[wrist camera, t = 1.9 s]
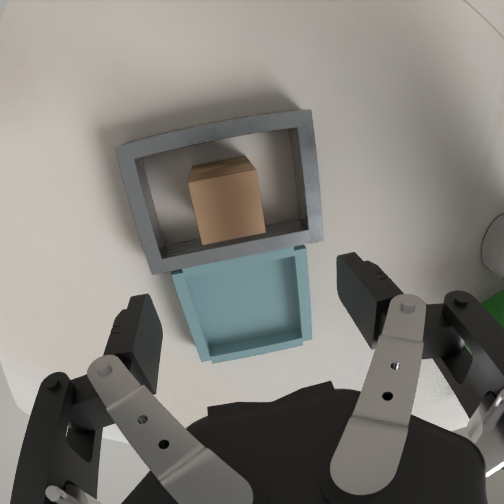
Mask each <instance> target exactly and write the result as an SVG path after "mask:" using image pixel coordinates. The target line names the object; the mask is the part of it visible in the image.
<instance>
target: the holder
mask: <svg viewBox="0 0 504 504" xmlns="http://www.w3.org/2000/svg"><path fill="white" fill-rule="evenodd" d="M287 128H290V136H291V143H292V151H293V159H294V167H295V175H296V184H297V192H298V201H299V211H300V219H298V220H292V221H287V222H282V223H276V224H271V225H266V226H265V230H266V233H261V234H256V235H251V236H246V237H241V238H235V239H230V240H225V241H220V242H216V243H211V244H206V245H202V241H201V239H196V240H191V241H186V242H181V243H177V244H172V245H167V246H165V243H164V240H163V236H162V233H161V229H160V225H159V222H158V218H157V215H156V211H155V207H154V203H153V200H152V196H151V192H150V188H149V184H148V180H147V176H146V172H145V168H144V164H143V159H142V157H144V156H147V155H151V154H155V153H159V152H163V151H168V150H172V149H176V148H181V147H185V146H190V145H194V144H199V143H204V142H209V141H214V140H219V139H224V138H230V137H235V136H241V135H247V134H253V133H259V132H266V131H273V130H280V129H287ZM116 153H117V157H118V161H119V165H120V169H121V173H122V177H123V181H124V184H125V188H126V192H127V196H128V199H129V203H130V206H131V210H132V213H133V217H134V220H135V223H136V227H137V230H138V233H139V236H140V240H141V243H142V246H143V249H144V252H145V255H146V258H147V261H148V264H149V267H150V270H151V273H152V275H154V274H159V273H164V272H169V271H174V270H179V269H184V268H189V267H194V266H199V265H204V264H209V263H214V262H219V261H224V260H229V259H234V258H239V257H244V256H249V255H254V254H259V253H264V252H269V251H274V250H279V249H284V248H289V247H294V246H299V245H304V244H309V243H314V242H319V241H324V237H323V221H322V208H321V195H320V184H319V173H318V163H317V153H316V144H315V136H314V127H313V119H312V112H311V110H305V109H300V110H291V111H283V112H275V113H267V114H260V115H253V116H247V117H241V118H235V119H229V120H223V121H218V122H213V123H208V124H203V125H198V126H193V127H188V128H184V129H179V130H175V131H171V132H167V133H163V134H159V135H155V136H151V137H147V138H143V139H139V140H136V141H132V142H129V143H125V144H123V145H120V146H118V147H116Z"/></svg>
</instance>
